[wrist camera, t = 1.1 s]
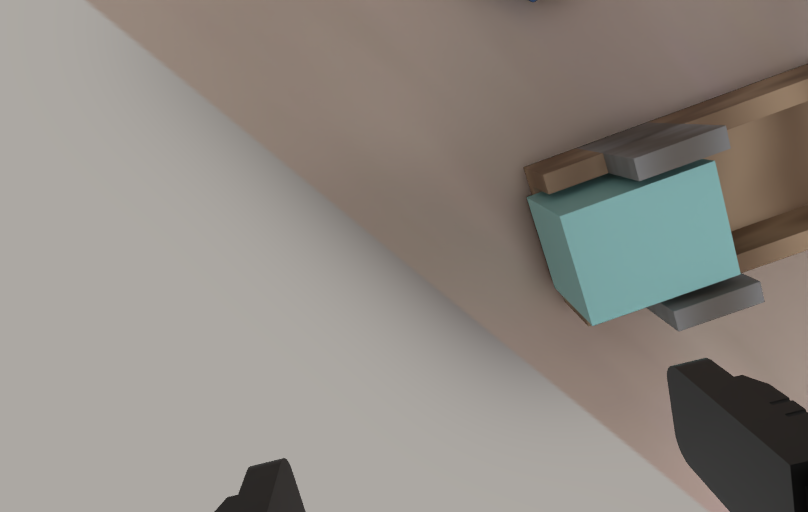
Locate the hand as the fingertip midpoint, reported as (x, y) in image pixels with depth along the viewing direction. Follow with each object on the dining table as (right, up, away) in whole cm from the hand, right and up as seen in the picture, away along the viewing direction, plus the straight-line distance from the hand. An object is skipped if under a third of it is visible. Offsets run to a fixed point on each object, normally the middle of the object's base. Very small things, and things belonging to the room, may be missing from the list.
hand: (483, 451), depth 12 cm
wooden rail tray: (+14, +8, +20) cm, 26 cm away
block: (+9, +6, +20) cm, 22 cm away
